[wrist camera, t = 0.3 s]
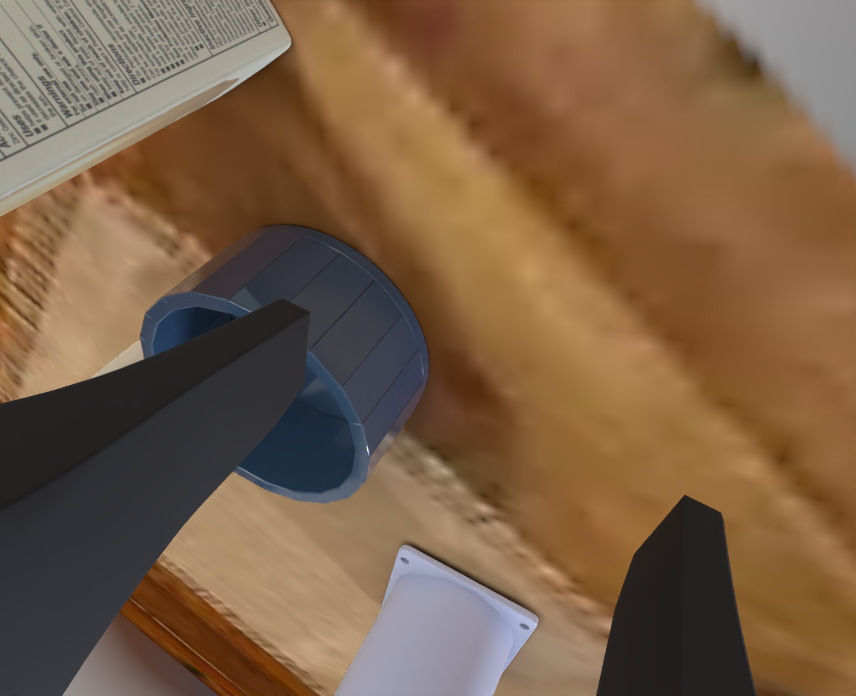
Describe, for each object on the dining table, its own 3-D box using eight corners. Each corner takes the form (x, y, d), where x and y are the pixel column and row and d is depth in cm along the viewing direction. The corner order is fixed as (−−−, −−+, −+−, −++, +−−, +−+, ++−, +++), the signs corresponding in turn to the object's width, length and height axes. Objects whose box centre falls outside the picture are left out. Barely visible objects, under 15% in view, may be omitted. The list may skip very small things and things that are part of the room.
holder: (408, 453, 30) (353, 538, 27) (229, 361, 32) (156, 429, 29) (452, 290, 23) (385, 377, 20) (219, 184, 25) (122, 247, 22)
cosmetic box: (99, -82, 21) (-413, 9, 12) (171, -176, 18) (-423, -141, 9) (223, 109, 23) (-133, 295, 15) (304, 52, 20) (-77, 241, 12)
